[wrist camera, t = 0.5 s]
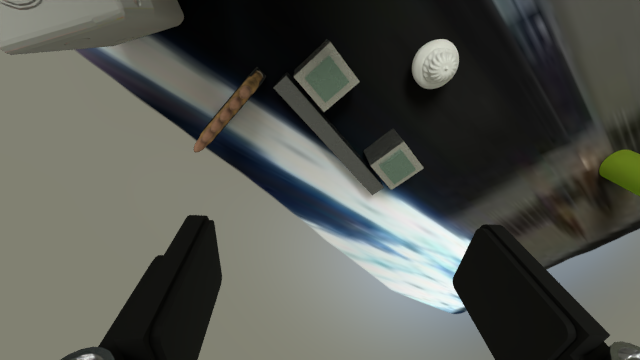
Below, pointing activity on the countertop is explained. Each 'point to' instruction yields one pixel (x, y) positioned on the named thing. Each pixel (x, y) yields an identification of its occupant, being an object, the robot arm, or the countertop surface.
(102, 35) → the electrical switch box
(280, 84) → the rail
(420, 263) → the countertop surface
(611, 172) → the soap dispenser
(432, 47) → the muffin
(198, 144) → the ammunition clip
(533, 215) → the countertop surface
